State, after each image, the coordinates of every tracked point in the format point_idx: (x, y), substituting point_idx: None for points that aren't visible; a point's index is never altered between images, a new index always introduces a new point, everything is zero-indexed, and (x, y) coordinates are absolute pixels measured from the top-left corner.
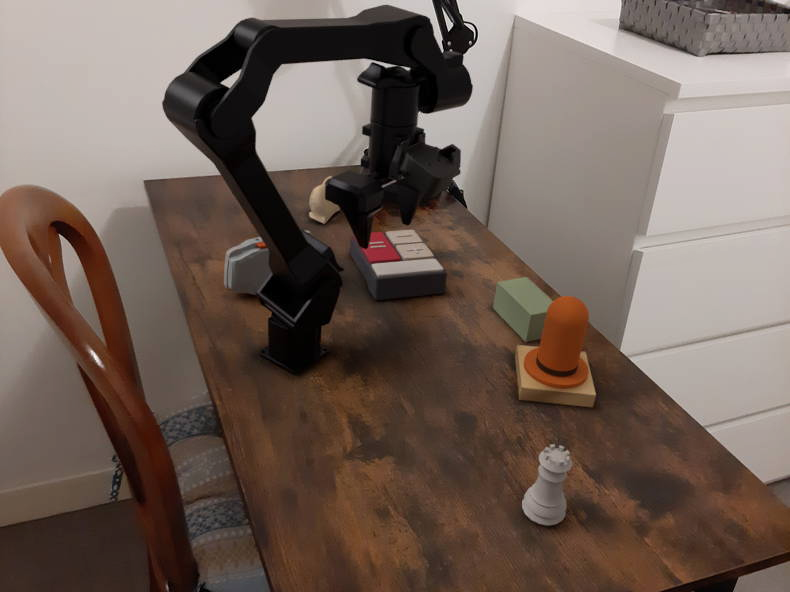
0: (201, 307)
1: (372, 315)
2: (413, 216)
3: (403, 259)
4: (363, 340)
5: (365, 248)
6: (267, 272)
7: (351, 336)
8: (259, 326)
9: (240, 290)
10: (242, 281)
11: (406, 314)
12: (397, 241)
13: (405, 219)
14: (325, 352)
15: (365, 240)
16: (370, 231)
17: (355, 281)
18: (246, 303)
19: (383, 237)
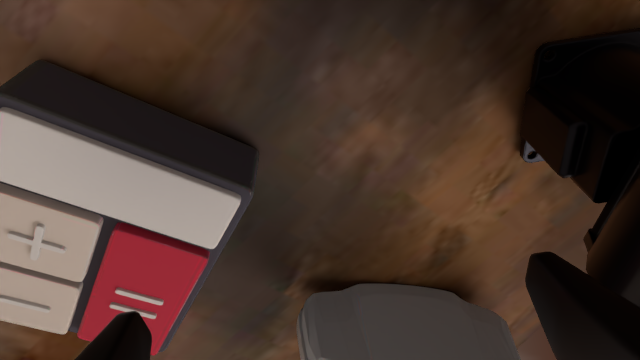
0: None
1: (312, 106)
2: (79, 356)
3: (101, 225)
4: (424, 31)
5: (550, 255)
6: (441, 329)
7: (431, 67)
8: (533, 216)
9: (484, 311)
10: (491, 327)
11: (227, 51)
12: (63, 293)
13: (135, 353)
14: (560, 45)
15: (617, 295)
16: (638, 345)
17: (240, 234)
18: (481, 281)
19: (91, 320)
